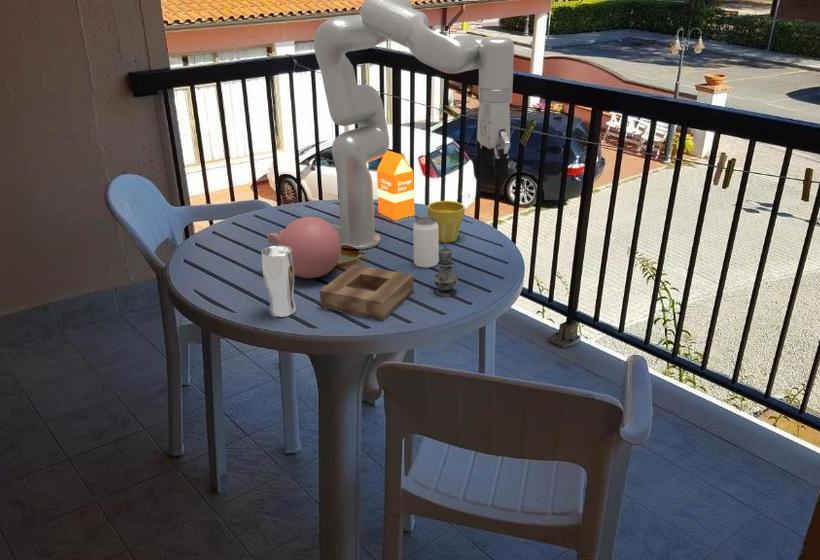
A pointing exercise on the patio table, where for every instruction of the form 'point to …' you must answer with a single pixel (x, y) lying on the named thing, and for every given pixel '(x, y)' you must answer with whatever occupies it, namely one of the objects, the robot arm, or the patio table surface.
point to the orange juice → (395, 186)
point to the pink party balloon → (310, 245)
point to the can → (426, 242)
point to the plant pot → (447, 218)
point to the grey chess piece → (445, 274)
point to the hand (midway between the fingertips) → (493, 169)
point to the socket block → (367, 292)
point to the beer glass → (279, 279)
